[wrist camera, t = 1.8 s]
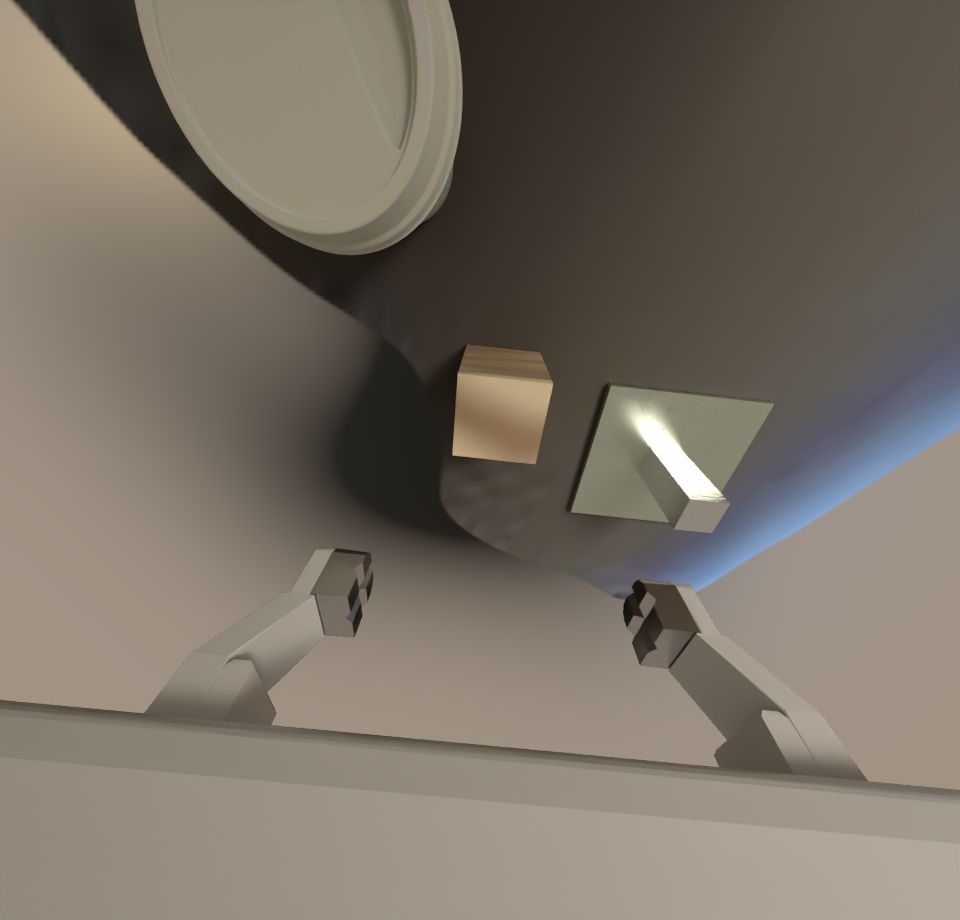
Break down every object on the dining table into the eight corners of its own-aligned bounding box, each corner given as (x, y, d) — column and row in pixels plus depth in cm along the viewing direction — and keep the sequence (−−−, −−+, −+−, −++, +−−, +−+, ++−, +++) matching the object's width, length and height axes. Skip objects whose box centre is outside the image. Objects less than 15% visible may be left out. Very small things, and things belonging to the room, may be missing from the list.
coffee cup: (463, 266, 21) (432, 283, 11) (326, 234, 21) (162, 220, 11) (494, 73, 17) (488, -194, 7) (320, 24, 16) (24, -351, 6)
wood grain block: (466, 344, 24) (457, 373, 18) (540, 352, 24) (553, 384, 18) (461, 411, 27) (452, 455, 21) (527, 419, 27) (535, 464, 21)
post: (608, 382, 25) (643, 424, 19) (768, 400, 25) (853, 447, 19) (569, 507, 31) (586, 568, 25) (697, 521, 31) (744, 584, 25)
